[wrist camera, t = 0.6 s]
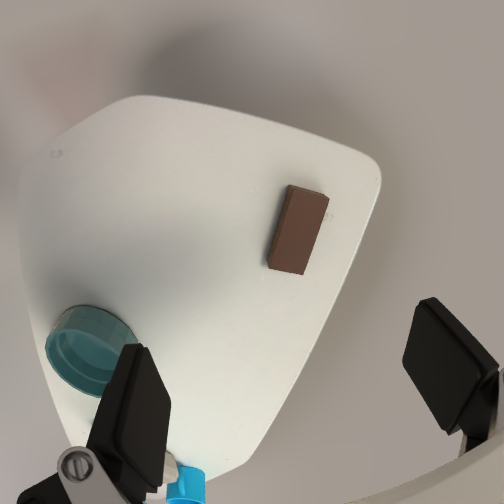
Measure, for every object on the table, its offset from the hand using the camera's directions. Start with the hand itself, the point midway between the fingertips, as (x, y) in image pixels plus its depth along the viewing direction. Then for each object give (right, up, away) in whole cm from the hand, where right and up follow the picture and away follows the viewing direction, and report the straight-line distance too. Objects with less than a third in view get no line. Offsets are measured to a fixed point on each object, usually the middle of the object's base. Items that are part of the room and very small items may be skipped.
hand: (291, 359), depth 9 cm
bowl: (-21, -8, +23) cm, 32 cm away
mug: (-16, -43, +40) cm, 61 cm away
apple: (-19, -36, +36) cm, 54 cm away
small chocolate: (+3, +6, +19) cm, 21 cm away
